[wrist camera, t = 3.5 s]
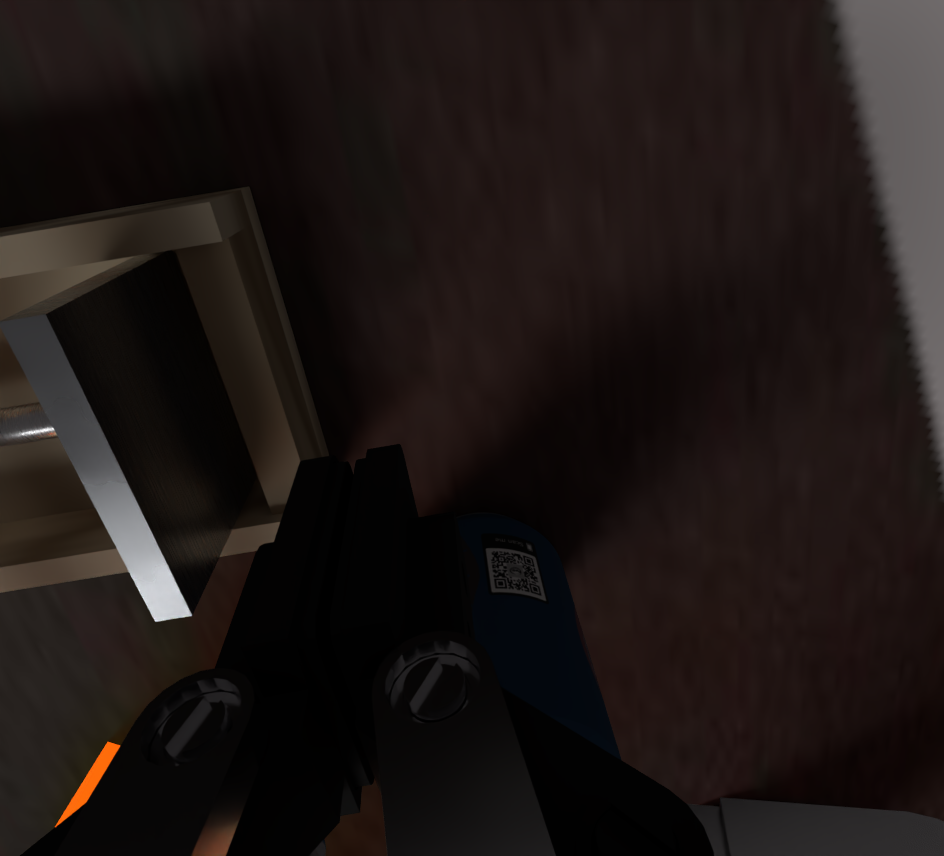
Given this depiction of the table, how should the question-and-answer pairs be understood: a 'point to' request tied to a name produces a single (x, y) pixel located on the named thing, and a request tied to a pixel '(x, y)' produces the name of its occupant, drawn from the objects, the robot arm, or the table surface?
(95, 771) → the orange juice
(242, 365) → the wooden tray
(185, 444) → the follower
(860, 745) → the table surface
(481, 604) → the soda can
